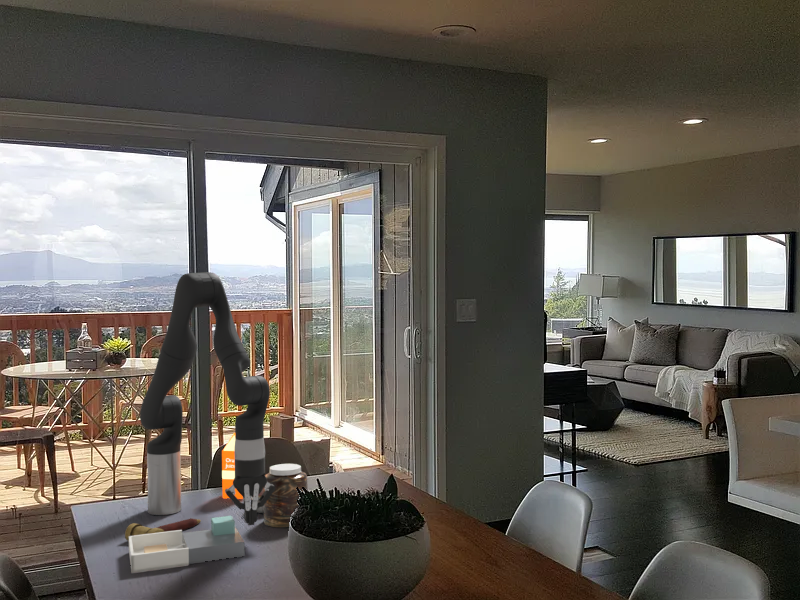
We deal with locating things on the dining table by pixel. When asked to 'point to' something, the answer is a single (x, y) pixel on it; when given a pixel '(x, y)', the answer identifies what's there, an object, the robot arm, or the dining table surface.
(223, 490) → the orange juice
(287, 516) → the jar
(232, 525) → the seafoam green cuboid
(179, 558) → the tray
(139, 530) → the gavel
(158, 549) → the thick tan wooden block
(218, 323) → the robot arm
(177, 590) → the dining table surface
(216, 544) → the board
